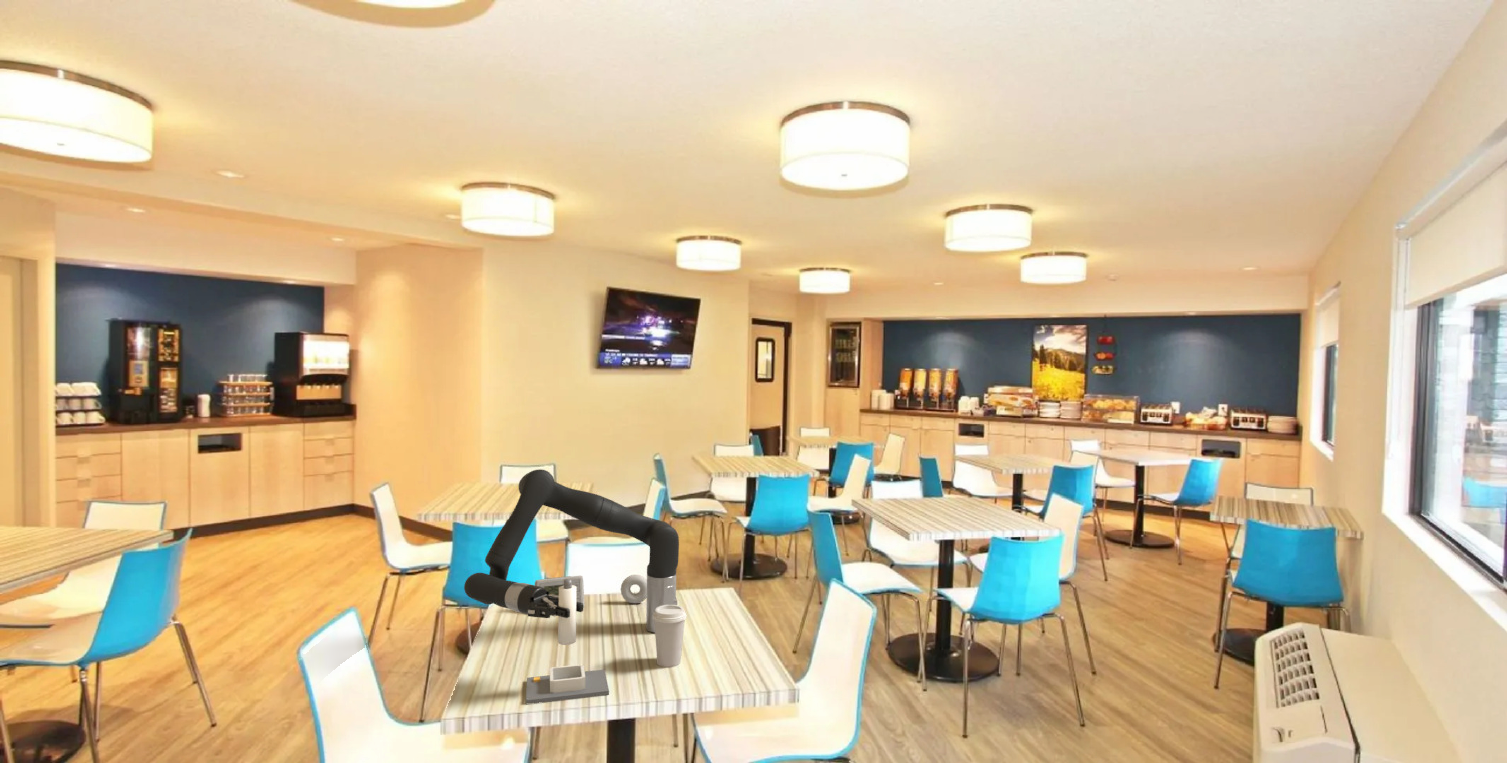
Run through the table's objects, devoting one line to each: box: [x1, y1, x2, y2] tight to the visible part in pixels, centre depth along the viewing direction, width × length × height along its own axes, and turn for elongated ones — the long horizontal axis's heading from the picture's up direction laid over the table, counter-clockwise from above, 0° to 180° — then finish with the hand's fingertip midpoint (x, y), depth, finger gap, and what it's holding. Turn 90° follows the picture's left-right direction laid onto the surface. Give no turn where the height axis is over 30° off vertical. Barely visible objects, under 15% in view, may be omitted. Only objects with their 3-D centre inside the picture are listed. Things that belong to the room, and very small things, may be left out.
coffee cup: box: [652, 604, 687, 668], centre depth 203 cm, size 10×10×15 cm
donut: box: [620, 574, 647, 605], centre depth 251 cm, size 10×4×10 cm, turn 94°
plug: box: [557, 579, 577, 646], centre depth 186 cm, size 4×4×16 cm
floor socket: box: [525, 664, 610, 704], centre depth 186 cm, size 20×13×4 cm, turn 107°
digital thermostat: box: [534, 575, 585, 609], centre depth 243 cm, size 16×9×11 cm, turn 101°
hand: (575, 610), depth 184 cm, fingers closed on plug, 4 cm apart
